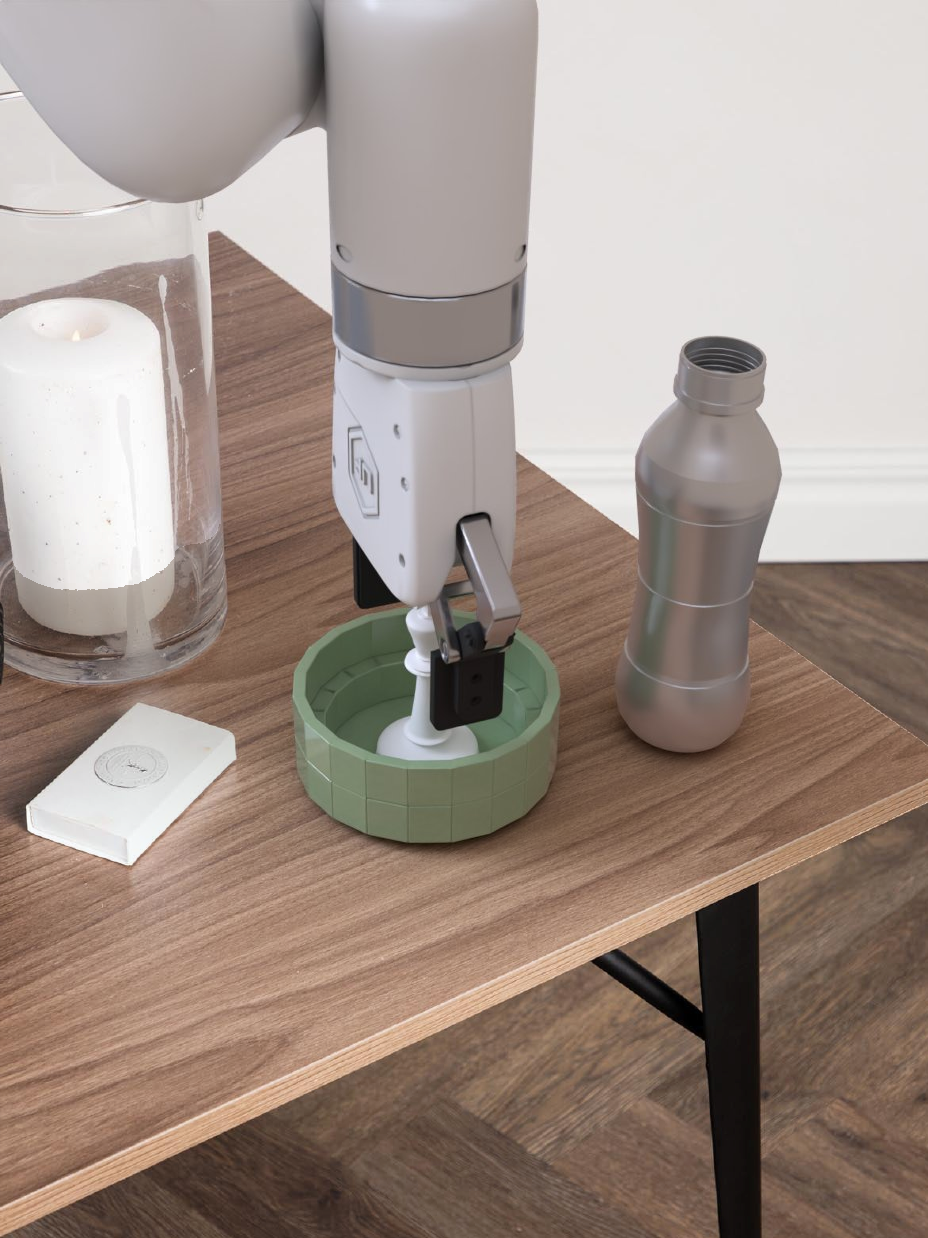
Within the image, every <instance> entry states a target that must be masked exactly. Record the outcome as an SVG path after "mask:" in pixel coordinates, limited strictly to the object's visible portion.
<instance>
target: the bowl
mask: <svg viewBox="0 0 928 1238" xmlns="http://www.w3.org/2000/svg"><path fill="white" fill-rule="evenodd" d="M412 609H414V608H413V607H410V606H408V607H406V606H405V607H398V608H393V609H388V610H383V611H377V612H372V613H367V614H363V615H362V616H361V615H360V616H359V617H357V618H354V619H351V620H350V621H347V622H345V623H343V624H340V625H338V626H335V627H333V628H332V629H330V630H329V631H327V633H325V634H324V635H323V636H322V637H320V638H319V639H317V640H316V641H315V642H313V644H311V645H310V646H309V647H308V648H307V650H306V651H305V652H304V654H303V656H302V658H301V659H300V661H299V663H298V664H297V666H296V668H295V669H294V672H293V680H292V713H293V730H294V731H293V732H294V747H295V763H296V772H297V774H298V776H299V778H300V781H301V783H302V785H303V788H304V789H305V792H306V794H307V796H308V797H309V798H310V800H312V801H313V802H314V803H315V804H316V805H318V806H319V807H320V808H321V809H322V810H323V811H324V812H325V813H326V814H327V815H328V816H330V818H332V819H334V820H335V821H337V822H340V823H342V824H344V825H347V826H348V827H351V828H353V829H354V830H357V831H359V832H361V833H363V834H365V835H368V836H372V837H378V838H381V839H386V840H387V839H388V840H391V841H397V842H402V843H409V844H424V843H425V844H431V843H432V844H433V843H434V844H435V843H437V844H438V843H456V842H460V841H464V840H465V841H466V840H469V839H473V838H477V837H481V836H485V835H490V834H492V833H494V832H496V831H498V830H500V829H502V828H504V827H505V826H507V825H509V824H511V823H513V822H515V821H517V820H519V819H521V818H523V817H524V816H526V814H527V813H528V812H529V811H530V810H532V808H533V807H534V806H535V805H536V804H537V803H538V802H539V801H540V800H541V799H542V798H543V797H544V796H545V795H546V794H547V792H548V789H549V787H550V785H551V784H550V783H551V781H552V779H553V776H554V773H555V771H556V767H557V755H558V744H559V743H558V741H559V726H560V715H561V713H560V711H561V701H562V700H561V699H562V694H561V686H560V678H559V671H558V669H557V667H556V666H555V664H554V663H553V661H552V660H551V658H550V657H549V655H548V654H547V653H546V651H545V649H544V648H543V647H542V645H540V644H539V643H537V641H535V640H533V639H532V638H530V637H529V636H528V635H527V634H526V633H524V632H523V631H521V630H519V629H518V628H517V627H516V629H515V631H514V632H515V633H516V635H515V636H514V641H513V643H512V644H511V645H510V649H509V650H508V651H505V666H504V687H503V708H502V712H501V714H500V715H499V716H498V717H496V718H494V719H489V720H485V721H481V722H477V723H473V724H468V725H465V726H467V727H468V728H469V729H470V730H471V731H472V732H473V734H474V735H475V737H476V739H477V743H478V750H479V754H475V755H470V756H466V757H461V758H457V759H452V760H405V759H400V758H394V757H389V756H384V755H379V754H376V749H377V742H378V739H379V737H380V735H381V733H382V732H383V731H384V730H385V729H386V728H387V727H388V726H389V725H390V724H392V723H393V722H395V721H397V720H399V719H402V718H404V717H408V716H411V715H412V709H413V703H414V697H415V690H416V681H417V675H415V674H413V673H411V672H409V671H408V670H407V668H406V667H405V658H406V656H407V654H408V652H409V651H411V650H412V649H414V648H416V647H415V645H414V643H413V639H412V636H411V634H410V632H409V630H408V627H407V624H406V616H407V614H408V613H409V612H410V611H411V610H412ZM451 609H452V614H453V618H454V623H455V627H456V631H457V630H459V629H460V628H462V627H463V626H465V625H466V624H468V623H472V622H475V621H476V619H477V618H476V616H475V615H476V612H473V611H467V610H461V609H456V608H451Z"/></svg>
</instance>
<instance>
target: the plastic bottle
mask: <svg viewBox="0 0 928 1238" xmlns="http://www.w3.org/2000/svg"><path fill="white" fill-rule="evenodd" d="M767 365H768V364H767V356H766V354H765V352H764V351H763V350H762V349H761V348H760V347H758V346H757V345H755V344H753V343H751V342H749V341H747V340H743V339H741V338H736V337H732V336H726V335H706V336H705V335H704V336H699V337H695V338H693V339H689V340H688V341H686V342H685V343H684V344H683V345H682V347H681V348H680V352H679V355H678V364H677V373H675V376H674V377H673V385H672V392H673V394H674V396H675V398H676V400H675V401H673V402H672V403H671V404H670V405H669V406H668V407H667V408H665V410H664V411H662V413H661V414H660V415H659V416H658V417H657V418H656V419H655V420H654V421H653V423H652V424H651V425H650V426H649V427H648V429H647V430H646V431H645V432H644V434H643V436H642V439H641V441H640V443H639V446H638V448H637V451H636V453H635V456H634V483H635V497H636V511H637V526H638V545H637V574H636V575H637V576H636V579H637V580H636V586H635V593H634V598H633V602H632V603H633V604H632V609H631V613H630V614H631V615H630V619H629V625H628V630H627V634H626V637H625V640H624V643H623V645H622V649H621V651H620V654H619V658H618V663H617V666H616V670H615V675H614V688H615V696H616V703H617V705H616V706H617V709H618V712H619V714H620V716H621V718H622V719H623V721H624V722H625V723H626V725H627V726H628V728H629V729H630V730H631V732H633V734H635V736H637V737H638V738H639V739H641V740H642V741H643V742H645V743H647V744H649V745H651V746H653V747H656V748H659V749H662V750H665V751H670V752H674V753H687V754H689V753H699V752H704V751H708V750H711V749H714V748H716V747H718V746H719V745H721V744H723V743H724V742H725V741H727V740H728V739H729V738H730V737H732V736H733V735H734V734H735V733H736V732H737V731H738V730H739V728H740V726H741V725H742V723H743V721H744V717H745V714H746V712H747V709H748V706H749V704H750V700H751V697H752V694H751V691H752V689H751V688H752V687H751V686H752V685H751V683H752V682H751V679H752V677H751V674H752V673H751V666H750V665H751V664H750V656H749V655H750V654H749V639H750V638H749V637H750V616H751V615H750V614H751V598H752V593H753V588H754V583H755V577H756V573H757V568H758V564H759V559H760V554H761V549H762V545H763V543H764V539H765V536H766V534H767V530H768V526H769V524H770V520H771V517H772V513H773V510H774V507H775V503H776V500H777V499H778V495H779V490H780V485H781V480H782V476H783V471H782V465H781V459H780V454H779V449H778V446H777V445H776V442H775V439H774V438H773V436H772V434H771V432H770V430H769V428H768V426H767V424H766V423H765V421H764V420H763V418H762V417H761V415H760V413H759V412H758V408H759V407H760V406H761V405H762V404H763V402H764V399H765V393H766V388H765V384H764V383H765V377H766V371H767Z"/></svg>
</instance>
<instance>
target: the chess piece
mask: <svg viewBox="0 0 928 1238" xmlns="http://www.w3.org/2000/svg"><path fill="white" fill-rule="evenodd" d="M413 608H414V609H412V610H411V611H410V612H409V613H408V614H407V616H406V624H407V627H408V630H409V632H410V634H411V636H412V639H413V643H414V645H415V647H416V648H414V649H412V650H411V651H409V652H408V654H407V656H406V658H405V667H406V668H407V670H408V671H409V672H411V673H413V674H415V675H417V681H416V690H415V697H414V703H413V709H412V715H411V716H408V717H404V718H402V719H399V720H397V721H395V722H393V723H392V724H390V725H389V726H388V727H387V728H386V729H385V730H384V731H383V732H382V733H381V735H380V737H379V739H378V742H377V749H376V754H379V755H384V756H389V757H394V758H400V759H405V760H452V759H457V758H461V757H466V756H470V755H475V754H479V750H478V743H477V739H476V737H475V735H474V734H473V732H472V731H471V730H470V729H469V728H468V727H467V726H465V725H464V726H460V727H456V728H452V729H447V730H443V731H437V730H436V729H435V728H434V726H433V725H432V723H431V722H430V651H433V650H436V649H439V645H438V641H437V636H436V632H435V628H434V623H433V619H432V615H431V610H430V606H429V603H425V604H420V606H418V607H413Z"/></svg>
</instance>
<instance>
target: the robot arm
mask: <svg viewBox="0 0 928 1238" xmlns="http://www.w3.org/2000/svg"><path fill="white" fill-rule="evenodd" d="M538 51H539V8H538V3H537V0H0V65H1V66H2V68H3V69H4V71H5V72H6V73H7V75H8V76H9V77H10V79H11V80H12V82H13V83H14V84H15V85H16V87H17V88H18V90H19V91H20V92H21V94H22V95H23V97H24V98H25V99H26V100H27V101H28V103H29V104H30V105H31V107H32V108H33V109H34V111H35V112H36V113H37V115H38V116H39V117H40V118H41V120H42V121H43V122H44V123H45V124H46V126H47V127H48V128H49V129H50V130H51V132H52V133H53V134H54V135H55V136H56V137H57V138H58V139H59V140H60V142H62V143H63V144H64V145H65V147H66V148H68V149H69V151H70V152H71V153H72V154H73V155H74V156H75V157H76V158H77V159H78V160H79V161H80V162H81V163H82V164H84V165H85V166H86V167H87V168H88V169H90V170H91V171H93V172H94V173H95V174H96V175H97V176H99V177H100V178H101V179H103V180H104V181H105V182H107V183H108V184H110V185H111V186H113V187H115V188H117V189H119V190H121V191H123V192H125V193H126V194H128V195H131V196H133V197H136V198H139V199H143V200H147V201H149V202H154V203H160V204H185V203H190V202H194V201H199V200H203V199H205V198H209V197H211V196H213V195H215V194H217V193H219V192H221V191H223V190H224V189H227V188H228V187H229V186H231V185H232V184H234V183H235V182H236V181H237V180H238V179H240V178H241V177H242V176H243V175H245V173H247V172H248V171H249V170H250V169H252V167H255V166H256V164H257V163H259V162H260V161H262V159H264V158H265V157H266V156H267V155H268V154H269V153H270V152H271V151H272V150H273V149H274V148H276V146H278V144H280V143H281V142H282V141H284V140H286V139H288V138H291V137H293V136H296V135H299V134H302V133H304V132H307V131H309V130H312V129H314V128H319V129H322V130H323V131H325V132H326V161H327V163H326V165H327V167H326V168H327V192H328V195H327V196H328V219H329V223H328V224H329V246H330V247H329V248H330V249H329V250H330V285H331V287H330V288H331V289H330V290H331V318H332V323H331V327H332V328H331V329H332V330H331V331H332V333H331V334H332V341H333V344H334V346H335V359H334V371H333V372H334V374H333V397H332V404H333V405H332V437H331V438H332V441H331V442H332V443H331V445H332V447H331V448H332V449H331V457H332V458H331V488H332V489H331V490H332V496H333V499H334V503H335V505H336V508H337V511H338V512H339V514H340V516H341V518H342V520H343V521H344V523H345V525H346V526H347V528H348V530H349V531H350V533H351V535H352V536H351V537H352V573H353V574H352V575H353V576H352V577H353V579H352V580H353V581H352V582H353V600H354V602H355V604H356V605H357V607H358V608H359V609H361V610H370V609H375V608H380V607H384V606H389V605H394V604H398V603H403V604H404V605H406V606H408V607H418V606H420V604H425V603H429V606H430V610H431V615H432V619H433V623H434V628H435V632H436V636H437V641H438V645H439V649H436V650H433V651H430V722H431V723H432V725H433V726H434V728H435V729H436V730H437V731H443V730H447V729H452V728H456V727H460V726H464V725H468V724H473V723H477V722H481V721H485V720H489V719H494V718H496V717H498V716H499V715H500V714H501V712H502V708H503V687H504V666H505V651H508V650H509V649H510V645H511V644H512V643H513V641H514V636H515V635H516V633H515V632H514V631H515V629H516V628H517V627H518V625H519V622H520V620H521V619H522V612H523V611H522V605H521V602H520V599H519V597H518V593H517V591H516V588H515V585H514V583H513V581H512V578H511V573H512V568H513V561H514V555H515V554H514V553H515V542H516V540H515V539H516V527H517V525H516V524H517V446H516V443H517V442H516V417H515V401H514V399H515V398H514V387H513V386H514V385H513V374H512V366H511V362H512V361H513V360H515V359H516V357H517V356H518V355H519V354H520V353H521V351H522V349H523V346H524V340H525V337H524V336H525V322H526V321H525V320H526V319H525V318H526V301H527V300H526V298H527V281H528V280H527V279H528V249H529V248H528V247H529V234H530V233H529V231H530V212H531V193H532V177H533V175H532V174H533V158H534V157H533V156H534V155H533V154H534V139H535V138H534V136H535V135H534V134H535V115H536V96H537V94H536V93H537V73H538V57H539V56H538V55H539V54H538V53H539V52H538ZM462 566H463V567H464V570H465V572H466V576H467V578H468V579H465V580H460V581H455V582H449V583H447V580H448V578H449V575H450V574H451V571H452V569H453V568H457V567H462ZM470 596H474V597H475V600H476V611H475V613H476V615H475V616H476V618H477V619H476V621H475V622H472V623H468V624H466V625H465V626H463V627H462V628H460V629H459V630H457V631H456V627H455V623H454V618H453V614H452V609H453V608H452V606H451V601H450V600H456V599H460V598H466V597H470Z"/></svg>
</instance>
